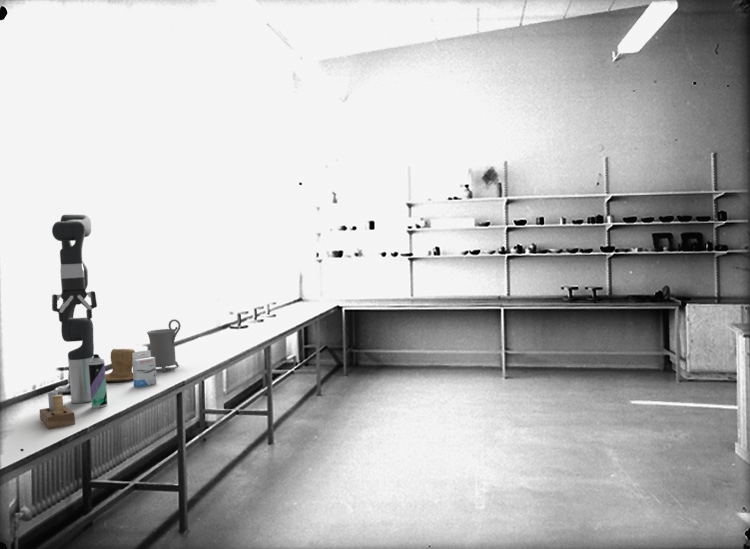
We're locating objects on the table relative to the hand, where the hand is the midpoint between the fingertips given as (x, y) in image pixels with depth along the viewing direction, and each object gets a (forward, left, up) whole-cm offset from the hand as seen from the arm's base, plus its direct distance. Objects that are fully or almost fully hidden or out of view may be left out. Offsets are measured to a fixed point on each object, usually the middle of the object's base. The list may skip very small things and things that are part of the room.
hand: (75, 321), depth 213 cm
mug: (-61, +52, -34) cm, 87 cm away
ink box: (-33, +33, -34) cm, 58 cm away
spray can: (-9, +8, -34) cm, 36 cm away
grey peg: (0, -9, -34) cm, 35 cm away
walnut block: (+4, -9, -34) cm, 35 cm away
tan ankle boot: (-53, +28, -34) cm, 69 cm away
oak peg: (+8, -9, -34) cm, 36 cm away
